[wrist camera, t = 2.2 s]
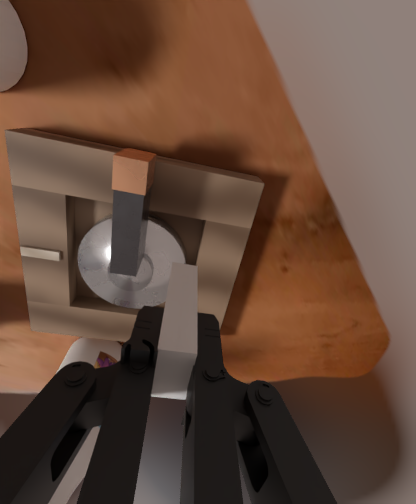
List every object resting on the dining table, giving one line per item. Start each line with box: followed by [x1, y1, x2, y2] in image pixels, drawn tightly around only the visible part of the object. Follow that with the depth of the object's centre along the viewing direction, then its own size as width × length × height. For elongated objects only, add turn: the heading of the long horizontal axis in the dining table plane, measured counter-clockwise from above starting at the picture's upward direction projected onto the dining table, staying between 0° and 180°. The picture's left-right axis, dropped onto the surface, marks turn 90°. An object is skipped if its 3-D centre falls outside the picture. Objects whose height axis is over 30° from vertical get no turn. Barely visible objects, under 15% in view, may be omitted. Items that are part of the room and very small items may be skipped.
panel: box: [5, 128, 264, 342], centre depth 29 cm, size 22×22×3 cm
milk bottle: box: [48, 337, 122, 504], centre depth 29 cm, size 8×8×20 cm
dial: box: [78, 148, 186, 309], centre depth 25 cm, size 17×11×7 cm, turn 168°
